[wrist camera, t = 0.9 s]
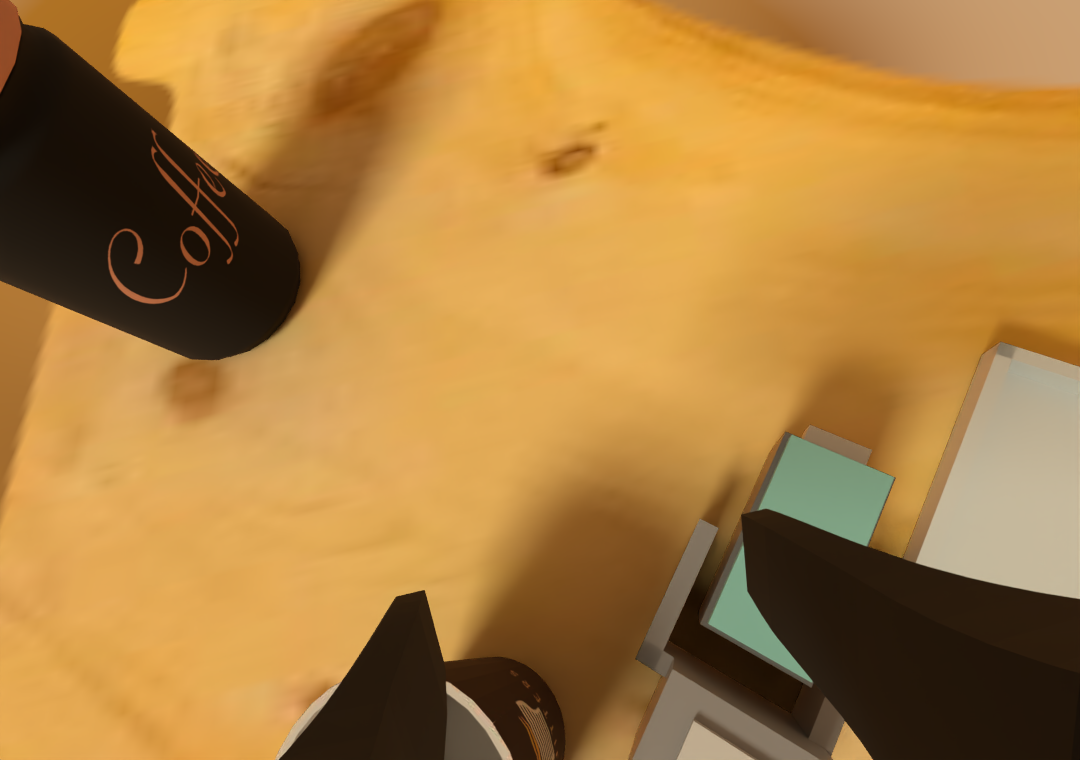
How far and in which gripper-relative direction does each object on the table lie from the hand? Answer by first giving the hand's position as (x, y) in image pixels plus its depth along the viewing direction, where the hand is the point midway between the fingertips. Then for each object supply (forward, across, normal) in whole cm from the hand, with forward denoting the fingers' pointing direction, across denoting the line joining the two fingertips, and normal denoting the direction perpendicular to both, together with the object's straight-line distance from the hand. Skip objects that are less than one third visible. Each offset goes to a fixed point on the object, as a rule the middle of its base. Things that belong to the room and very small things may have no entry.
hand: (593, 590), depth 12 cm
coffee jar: (+30, +16, -7) cm, 35 cm away
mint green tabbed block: (+10, -10, +8) cm, 16 cm away
